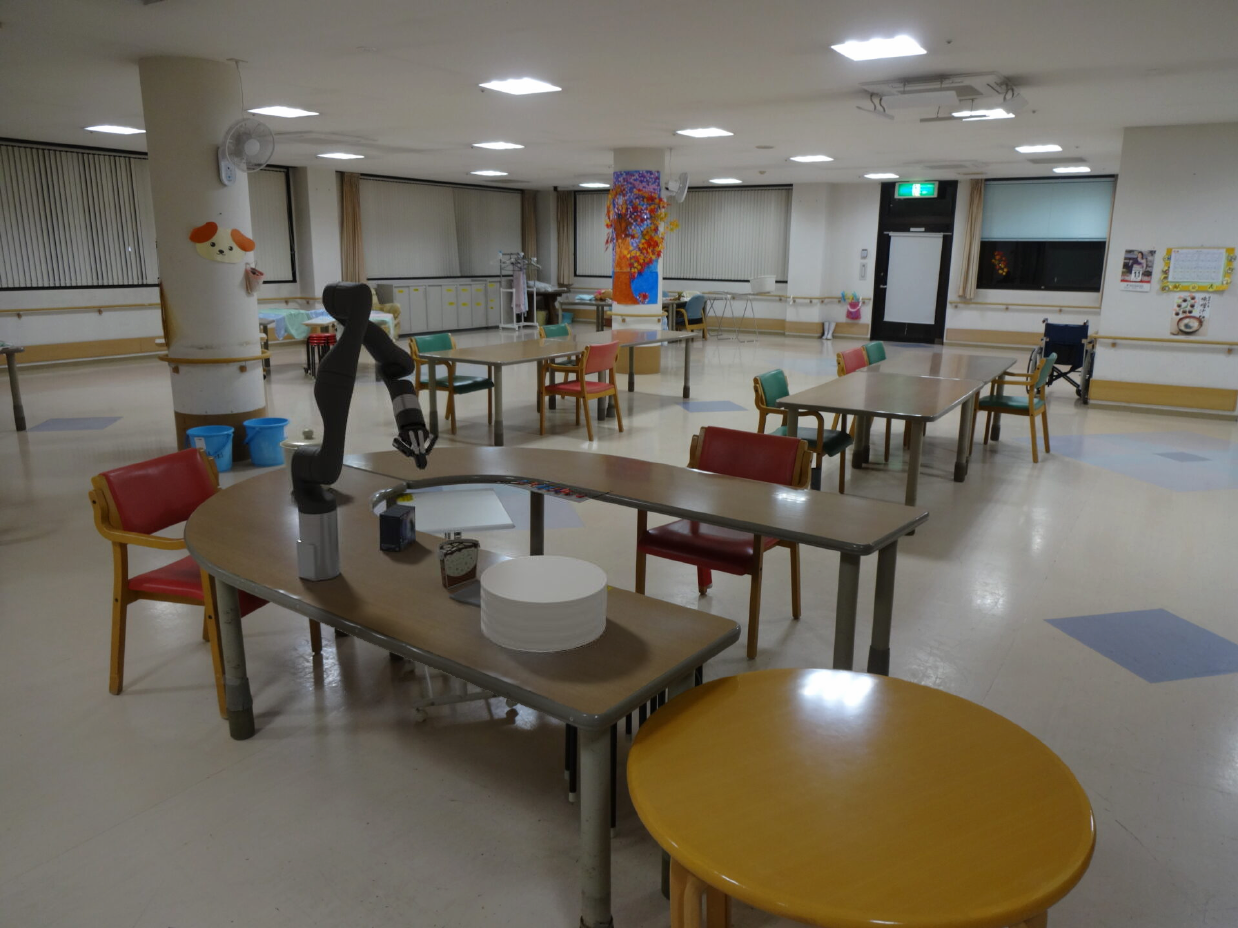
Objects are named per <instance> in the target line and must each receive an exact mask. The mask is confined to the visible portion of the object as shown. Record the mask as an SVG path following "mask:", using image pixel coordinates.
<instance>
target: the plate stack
mask: <svg viewBox="0 0 1238 928" xmlns="http://www.w3.org/2000/svg"><path fill="white" fill-rule="evenodd" d="M480 581H481V607H480V629H482V630H481V632H482V631H483V632H484V634H485V635H486V636H487V637H488V638H490V639H492V640H493V641H495V642H497V643H499V644H501V645H505V646H508V647H513V648H516V649H523V650H537V651H549V650H552V651H553V650H565V649H571V648H575V647H579V646H581V645H584V644H586V643H589V642H591V641H593V640H594V639H596V638H598V637H599V636H600V635H601V634H602V633H603V631H604V630H605V631H606V629H605V627H606V628H607V605H608V604H607V603H608V602H607V601H608V600H607V596H608V588H607V587H608V576H607V574H606V572H605V571H604V570H603V569H602V568H601V567H599V566H597V565H595V564H593V563H592V562H590V561H586V560H583V559H579V558H574V557H569V556H561V555H528V556H521V557H520V556H519V557H515V558H510V559H509V558H508V559H506V560H502V561H499V562H497V563H495V564H492V565H491V566H489V567H488V568H486V569H485V570H484V571H483V572H482V573H481V576H480ZM605 631H604V632H605ZM483 632H482V633H483ZM484 634H483V635H484ZM603 634H604V633H603ZM603 634H602V635H603ZM485 635H484V636H485ZM486 636H485V637H486ZM487 637H486V638H487ZM488 638H487V639H488ZM599 638H600V637H599ZM599 638H598V639H599Z"/></svg>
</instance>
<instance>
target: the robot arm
mask: <svg viewBox="0 0 1238 928" xmlns="http://www.w3.org/2000/svg"><path fill="white" fill-rule="evenodd" d="M373 299H374V298H373V291H372V289H371V287H370V286H369V285H368V284H366V283H364V282H355V281H354V282H353V281H343V280H339V281H338V280H337V281H336V280H335V281H331V282H328V283H327V284H326V285H324V288H323V291H322V297H321V300H322V306H323V307H324V308H323V309H325V311H326V313H327V314H328V315H329V316H330V317H331V318H332V319H334V320H335V321H336V322H337V323H338V324H339V325H341V326H342V327H343V331H342V333H341V335H340V337H339V338H338V340H336V342H335V344H334V345H332V347H331V348H330V349H329V351H327V352H326V354H325V355H324V356H323V357H322V359H321V360H320V361H319V364H318V366H317V368H316V376H315V380H314V385H313V386H314V387H313V395H314V396H313V397H314V399H315V400H314V401H315V402H316V406H317V408H318V411H319V413H320V416H321V419H322V423H323V424H322V425H323V434H322V435H323V442H322V446H321V447H320V446H312V445H302V446H299V447H298V448H297V449H296V450H295V451H294V453H293V456H292V460H291V475H292V483H293V490H292V491H293V497H294V501H295V503H296V505H297V515H298V517H297V518H298V533H299V539H298V540H297V541H296V555H297V557H296V558H297V559H296V560H297V569H298V571H297V573H298V577H299V578H302V579H305V580H309V581H311V582H319V581H323V580H329V579H333V578H337V576H339V575H340V573H341V561H340V540H339V519H338V516H339V515H338V501H337V497H336V496H335V495H334V494H332V493H331V492H329V491H328V490H325V489H324V488H323V487H322V486H321V484H322V485H331V486H332V485H334V484H336V482H337V481H338V480H339V478H340V476H341V474H342V470H343V464H344V459H345V458H344V457H345V445H346V432H347V427H348V420H349V419H348V418H349V414H350V407H351V403H352V398H353V394H354V388H355V383H356V378H357V372H358V371H357V370H358V367H359V366H358V365H359V360H360V355H361V350H362V347H364V348H365V349H366V351H367V352H368V354H369V355H370V356H371V357H372V359H373V360H374V361H375V362H376V367H375V369H376V372H377V375H378V377H379V378H380V379H381V381H382V382H383V384H384V385H385V387H386V388H387V390H388V394H389V396H390V397H389V398H390V400H391V405H392V411H393V417H394V420H395V423H396V424H395V425H396V426H397V432H398V434H397V437H394V438H393V440H392V443H391V445H392V447H393V448H395V449H396V450H398V451H399V452H400V453H401V454H402V455H404V456H405V457H407V458H413V459H414V460H413V461H414V462H415V467H416V469H418V470H419V471H420V470H425V469H426V468H427V466H428V460H427V456H430V454H431V453H432V451H433V449H434V447H435V446H436V444H437V441H438V440H439V435H438V434H432V433H430V430H429V429H428V427H427V425H426V420H425V417H424V413H423V410H422V406H421V404H420V401H419V399H418V395H417V392H416V388H415V385H414V383H413V382H412V380H409V379H405V378H406V377H409V376H411V375H412V374H413V373H414V372H415V370H416V363H415V360H414V358H413V356H412V355H411V354H410V353H409V352H408V351H406V350H405V349H404V348H402V347H400V346H399V345H397V344H395V342H394V341H393V340H392V338H391V336H390V335H389V334H388V333H387V332H386V331H385V330H384V329H383V328H382V327H381V326H379V324H377V323H375V322H374V321H372V320H370V318H371V313H372V309H373V304H374V303H373ZM427 441H428V442H429V444H428V446H427V447H426V448H425V444H426V442H427Z"/></svg>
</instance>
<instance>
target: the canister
mask: <svg viewBox="0 0 1238 928" xmlns="http://www.w3.org/2000/svg"><path fill="white" fill-rule="evenodd" d="M322 442H323V434H315V433H314V431H313V429H311V428H304V429H303V430H302V434H300V435H294V436H290V437H287V438H285V439H284V440H283V441H281V442H280V443H279V446H280V447H281V449H282V456H283V460H284V467H285V471H286V477H287V482H288V486H289V487H290V489H291V491H293V483H292V475H291V460H292V456H293V453H294V451H295V450H296V449H297V448H298V447H299V446H302V445H312V446H320V447H321V446H322ZM321 486H322V487H323V488H324V489H325V490H326V491H328V490H329V489H330V488H331V486H332V485H322V484H321Z"/></svg>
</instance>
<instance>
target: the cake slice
mask: <svg viewBox="0 0 1238 928" xmlns="http://www.w3.org/2000/svg"><path fill="white" fill-rule="evenodd" d="M479 549H481V544H480V540H477V539H473V538H454V539H453V538H452V539H448V540H446V541H443V542H441V543H440V544H439V545H438V547H437V549H436V555H435V556H436V557H437V558H438V559H439V566H440V575H441V583H442V587H444V588H445V589H447V590H449V589H451V588H454V587H458V586H460V585H462V584H463V585H464V584H466V583H468V582H470V581H474V580H476V579H477V575H478V574H477V571H478V562H479V561H478V558H479Z"/></svg>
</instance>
